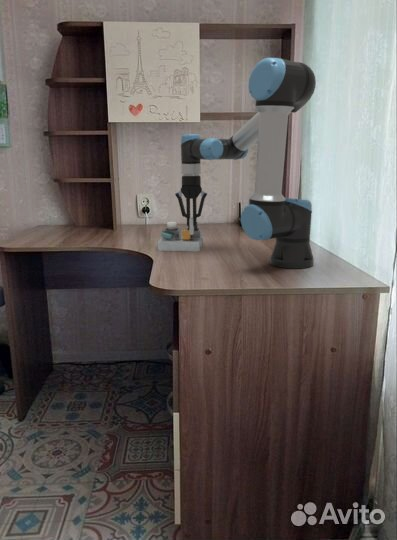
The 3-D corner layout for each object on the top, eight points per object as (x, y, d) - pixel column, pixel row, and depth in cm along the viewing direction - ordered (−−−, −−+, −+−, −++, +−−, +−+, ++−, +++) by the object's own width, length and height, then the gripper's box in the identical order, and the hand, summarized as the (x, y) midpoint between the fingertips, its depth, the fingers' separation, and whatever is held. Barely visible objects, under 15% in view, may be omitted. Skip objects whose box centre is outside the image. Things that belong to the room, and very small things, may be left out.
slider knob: (189, 239, 174) (189, 230, 173) (182, 239, 174) (182, 230, 173) (190, 238, 176) (190, 229, 176) (183, 238, 177) (183, 229, 176)
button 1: (175, 229, 180) (175, 222, 180) (166, 229, 181) (166, 222, 180) (177, 228, 184) (177, 221, 183) (168, 228, 185) (168, 221, 184)
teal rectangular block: (170, 238, 175) (171, 235, 174) (161, 236, 175) (161, 233, 175) (171, 237, 177) (172, 234, 177) (162, 235, 177) (162, 232, 177)
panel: (199, 251, 172) (199, 234, 170) (157, 250, 174) (157, 233, 172) (203, 244, 186) (202, 228, 184) (164, 243, 188) (164, 227, 186)
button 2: (196, 230, 179) (196, 223, 179) (187, 230, 180) (187, 222, 179) (197, 228, 183) (197, 221, 182) (188, 228, 184) (188, 221, 183)
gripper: (208, 174, 171) (208, 232, 177) (176, 174, 173) (177, 232, 179) (206, 175, 164) (206, 235, 170) (173, 175, 165) (174, 235, 172)
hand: (191, 233), depth 174 cm, fingers closed
